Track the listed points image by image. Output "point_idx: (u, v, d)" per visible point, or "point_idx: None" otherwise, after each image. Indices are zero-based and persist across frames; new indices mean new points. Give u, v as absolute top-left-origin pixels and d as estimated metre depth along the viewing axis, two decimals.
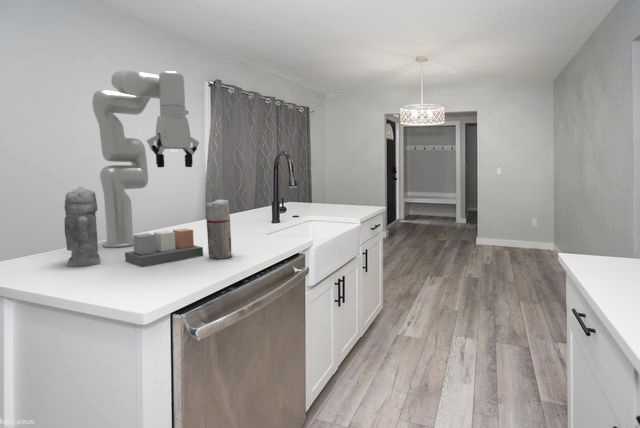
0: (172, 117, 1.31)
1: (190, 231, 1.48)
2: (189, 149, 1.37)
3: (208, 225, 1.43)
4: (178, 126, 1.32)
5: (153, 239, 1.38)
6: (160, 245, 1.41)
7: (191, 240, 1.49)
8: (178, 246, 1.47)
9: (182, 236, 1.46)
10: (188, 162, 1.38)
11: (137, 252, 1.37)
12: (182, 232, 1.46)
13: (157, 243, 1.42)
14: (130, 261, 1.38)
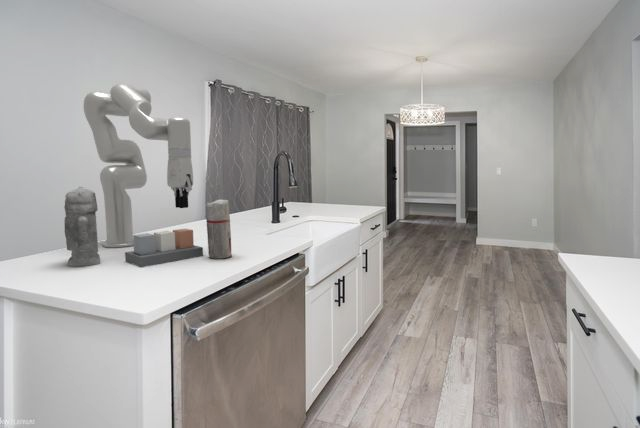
0: None
1: (190, 231, 1.48)
2: None
3: (208, 225, 1.43)
4: None
5: (153, 239, 1.38)
6: (160, 245, 1.41)
7: (191, 240, 1.49)
8: (178, 246, 1.47)
9: (182, 236, 1.46)
10: None
11: (137, 252, 1.37)
12: (182, 232, 1.46)
13: (157, 243, 1.42)
14: (130, 261, 1.38)
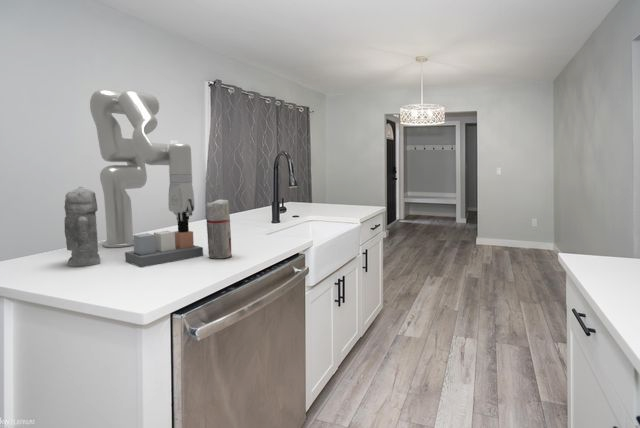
0: None
1: (190, 233, 1.48)
2: None
3: (208, 225, 1.43)
4: None
5: (153, 239, 1.38)
6: (160, 245, 1.41)
7: (191, 242, 1.49)
8: (178, 248, 1.47)
9: (182, 237, 1.46)
10: None
11: (137, 252, 1.37)
12: (182, 234, 1.46)
13: (157, 243, 1.42)
14: (130, 261, 1.38)
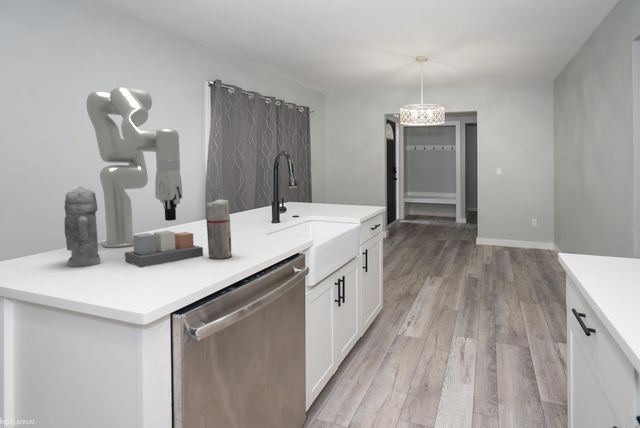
0: None
1: (190, 235, 1.48)
2: None
3: (208, 225, 1.43)
4: None
5: (153, 239, 1.38)
6: (160, 245, 1.41)
7: (191, 243, 1.49)
8: None
9: (182, 239, 1.46)
10: None
11: (137, 252, 1.37)
12: (182, 236, 1.46)
13: (157, 243, 1.42)
14: (130, 261, 1.38)
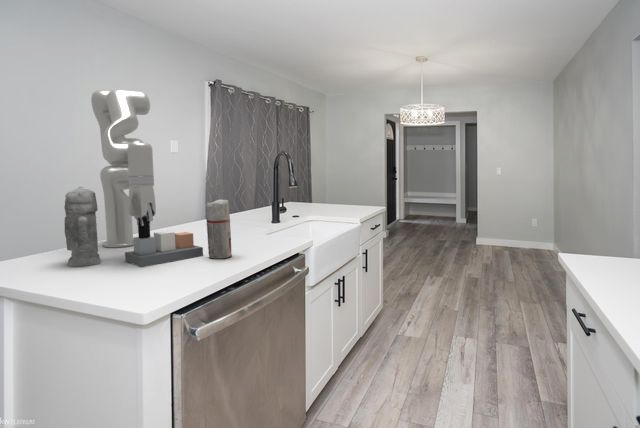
0: None
1: (190, 235, 1.48)
2: None
3: (208, 225, 1.43)
4: None
5: (153, 242, 1.39)
6: (160, 245, 1.41)
7: (191, 243, 1.49)
8: None
9: (182, 239, 1.46)
10: None
11: None
12: (182, 236, 1.46)
13: (157, 243, 1.42)
14: (130, 261, 1.38)
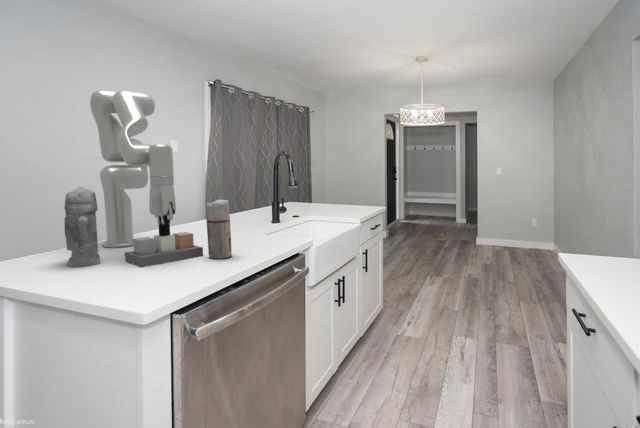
0: None
1: (190, 235, 1.48)
2: None
3: (208, 225, 1.43)
4: None
5: (153, 243, 1.39)
6: (160, 248, 1.41)
7: (191, 243, 1.49)
8: None
9: (182, 239, 1.46)
10: None
11: None
12: (182, 236, 1.46)
13: (157, 246, 1.43)
14: (130, 261, 1.38)
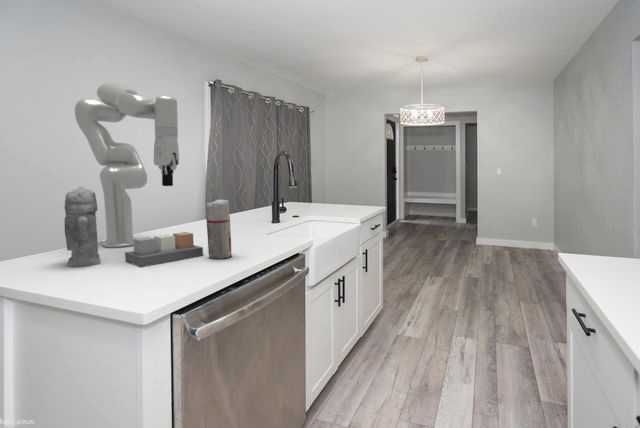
0: None
1: (190, 235, 1.48)
2: None
3: (208, 225, 1.43)
4: None
5: (153, 243, 1.39)
6: (160, 249, 1.41)
7: (191, 243, 1.49)
8: None
9: (182, 239, 1.46)
10: None
11: None
12: (182, 236, 1.46)
13: (157, 247, 1.43)
14: (130, 261, 1.38)
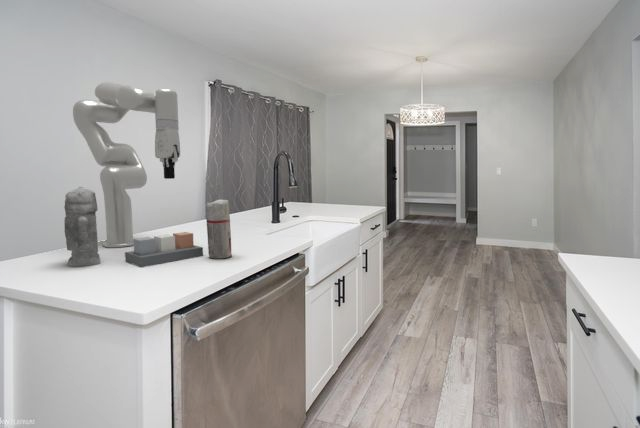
0: None
1: (190, 235, 1.48)
2: None
3: (208, 225, 1.43)
4: None
5: (153, 243, 1.39)
6: (160, 249, 1.41)
7: (191, 243, 1.49)
8: None
9: (182, 239, 1.46)
10: None
11: None
12: (182, 236, 1.46)
13: (157, 247, 1.43)
14: (130, 261, 1.38)
